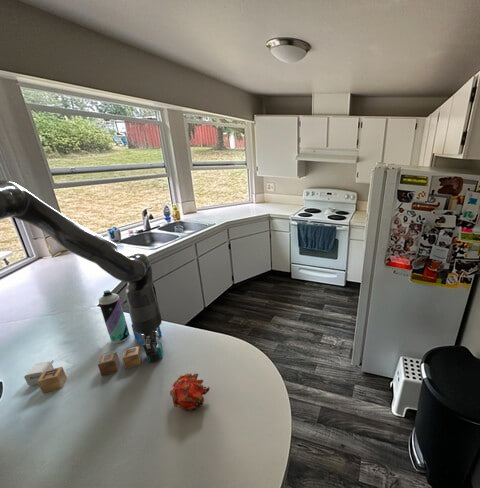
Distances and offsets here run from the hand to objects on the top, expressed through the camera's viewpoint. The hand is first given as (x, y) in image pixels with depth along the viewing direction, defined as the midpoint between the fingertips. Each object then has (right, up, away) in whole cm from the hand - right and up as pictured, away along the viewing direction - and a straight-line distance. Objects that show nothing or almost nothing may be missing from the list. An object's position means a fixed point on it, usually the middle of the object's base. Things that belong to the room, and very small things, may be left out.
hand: (155, 355), depth 85 cm
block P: (-5, -1, -3) cm, 6 cm away
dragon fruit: (+20, -6, -15) cm, 26 cm away
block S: (0, 0, 0) cm, 0 cm away
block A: (-22, -4, -12) cm, 25 cm away
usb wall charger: (-29, -2, -8) cm, 30 cm away
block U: (-11, -2, -6) cm, 12 cm away
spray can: (-18, +3, +8) cm, 20 cm away
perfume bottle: (-9, +3, +9) cm, 12 cm away
